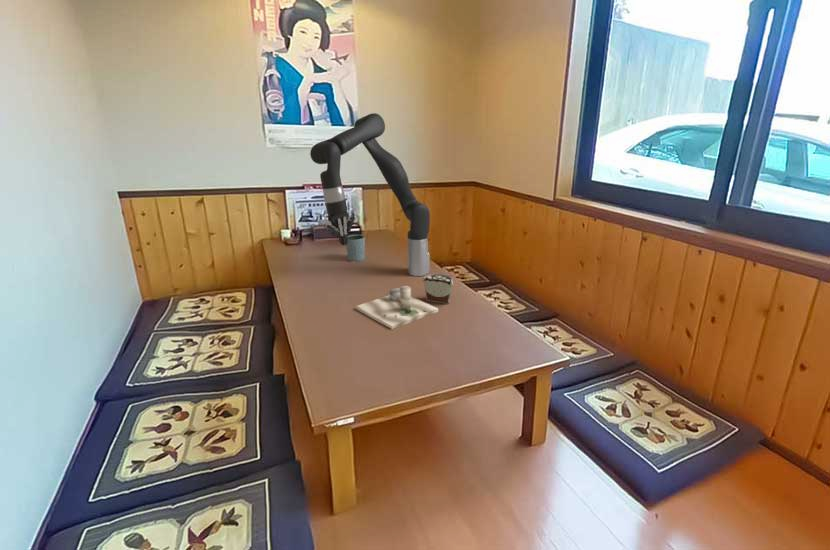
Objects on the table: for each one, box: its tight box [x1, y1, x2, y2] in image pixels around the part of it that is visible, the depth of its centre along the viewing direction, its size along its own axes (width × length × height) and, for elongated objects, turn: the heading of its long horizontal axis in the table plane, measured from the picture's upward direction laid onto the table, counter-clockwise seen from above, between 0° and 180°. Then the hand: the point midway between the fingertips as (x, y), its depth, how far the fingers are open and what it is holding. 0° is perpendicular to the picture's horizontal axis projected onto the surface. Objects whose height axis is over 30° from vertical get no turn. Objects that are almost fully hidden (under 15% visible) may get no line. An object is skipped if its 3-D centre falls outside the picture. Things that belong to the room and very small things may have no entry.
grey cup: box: [345, 234, 366, 262], centre depth 227 cm, size 10×10×12 cm
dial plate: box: [355, 294, 439, 330], centre depth 168 cm, size 22×23×1 cm
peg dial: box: [389, 285, 412, 313], centre depth 169 cm, size 18×6×8 cm, turn 19°
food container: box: [422, 273, 454, 305], centre depth 176 cm, size 12×6×10 cm, turn 65°
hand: (344, 244), depth 167 cm, fingers closed
